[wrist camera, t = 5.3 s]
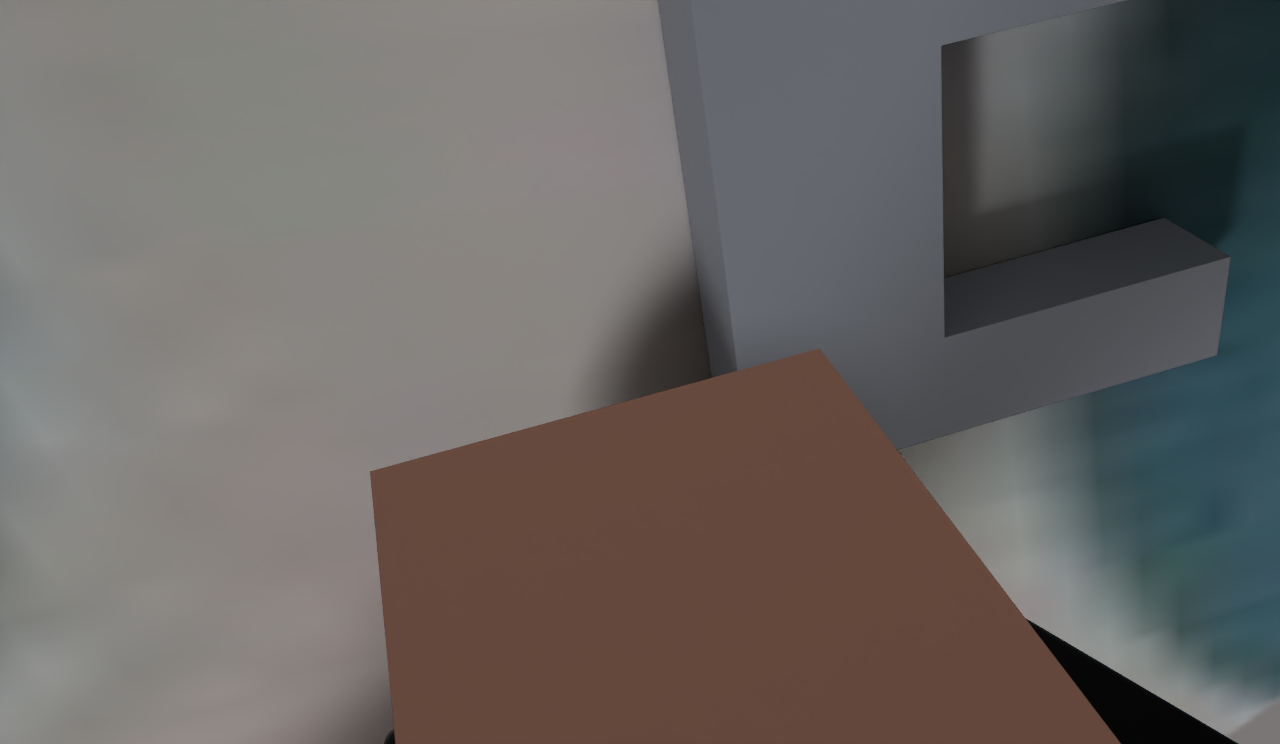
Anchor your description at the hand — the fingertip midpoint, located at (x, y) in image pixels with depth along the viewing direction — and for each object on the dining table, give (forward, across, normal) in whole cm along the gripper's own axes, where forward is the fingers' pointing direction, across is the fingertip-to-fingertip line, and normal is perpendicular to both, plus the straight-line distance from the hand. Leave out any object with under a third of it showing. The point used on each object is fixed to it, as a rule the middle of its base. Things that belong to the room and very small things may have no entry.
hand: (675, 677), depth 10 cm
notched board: (+12, -8, +2) cm, 15 cm away
